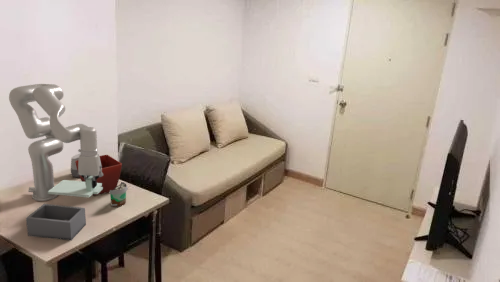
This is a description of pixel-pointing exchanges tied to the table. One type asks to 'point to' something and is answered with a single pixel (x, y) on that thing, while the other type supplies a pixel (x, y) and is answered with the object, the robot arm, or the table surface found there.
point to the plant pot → (107, 173)
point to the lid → (76, 188)
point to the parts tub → (56, 222)
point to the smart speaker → (74, 165)
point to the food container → (118, 195)
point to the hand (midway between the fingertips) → (91, 186)
